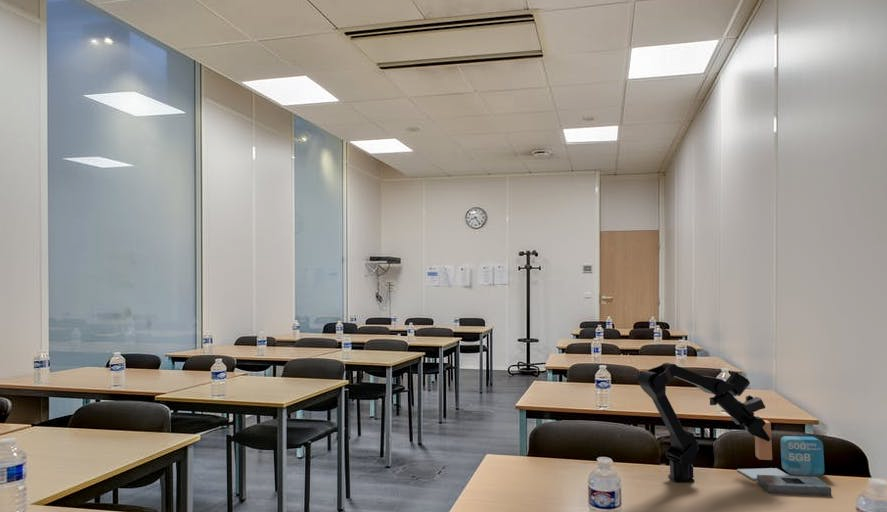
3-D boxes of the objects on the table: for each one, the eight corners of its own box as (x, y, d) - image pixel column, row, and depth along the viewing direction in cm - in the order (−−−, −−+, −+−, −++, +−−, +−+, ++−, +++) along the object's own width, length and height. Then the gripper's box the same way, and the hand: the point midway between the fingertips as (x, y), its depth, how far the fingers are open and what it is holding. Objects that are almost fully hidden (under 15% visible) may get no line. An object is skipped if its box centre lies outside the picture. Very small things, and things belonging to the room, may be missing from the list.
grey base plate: (768, 493, 183) (767, 484, 183) (757, 482, 193) (756, 474, 193) (831, 495, 180) (831, 487, 180) (817, 484, 189) (816, 476, 190)
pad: (752, 480, 195) (752, 478, 195) (737, 470, 205) (737, 469, 205) (793, 479, 195) (793, 477, 195) (776, 469, 205) (776, 468, 205)
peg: (759, 459, 199) (758, 422, 199) (755, 456, 203) (754, 419, 203) (772, 460, 198) (770, 422, 199) (768, 456, 202) (766, 420, 203)
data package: (786, 474, 200) (785, 439, 201) (781, 470, 205) (779, 435, 205) (825, 475, 198) (823, 440, 199) (818, 471, 203) (816, 436, 203)
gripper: (757, 394, 193) (795, 429, 191) (739, 385, 212) (774, 416, 209) (733, 417, 194) (770, 452, 192) (717, 406, 213) (751, 438, 210)
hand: (767, 438), depth 200 cm, fingers closed on peg, 4 cm apart
